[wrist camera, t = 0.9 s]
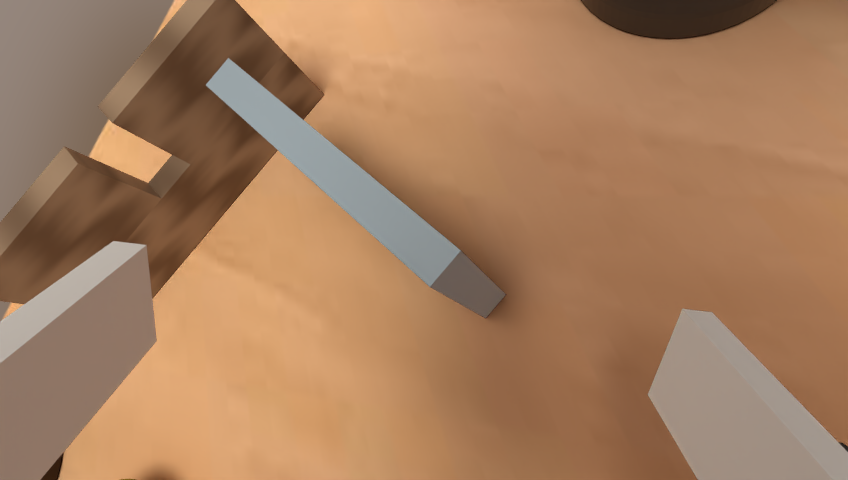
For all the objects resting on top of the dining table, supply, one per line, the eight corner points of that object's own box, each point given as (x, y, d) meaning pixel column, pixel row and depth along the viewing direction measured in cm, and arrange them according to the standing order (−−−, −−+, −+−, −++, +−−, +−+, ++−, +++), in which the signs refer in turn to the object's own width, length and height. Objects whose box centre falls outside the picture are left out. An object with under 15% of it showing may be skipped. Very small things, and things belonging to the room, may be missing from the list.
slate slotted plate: (505, 294, 32) (460, 250, 21) (485, 318, 32) (429, 287, 21) (330, 148, 39) (228, 57, 28) (314, 167, 39) (205, 84, 28)
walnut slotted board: (309, 83, 41) (206, -24, 30) (324, 94, 41) (224, -11, 30) (124, 302, 41) (-45, 275, 30) (135, 318, 41) (-34, 296, 30)
